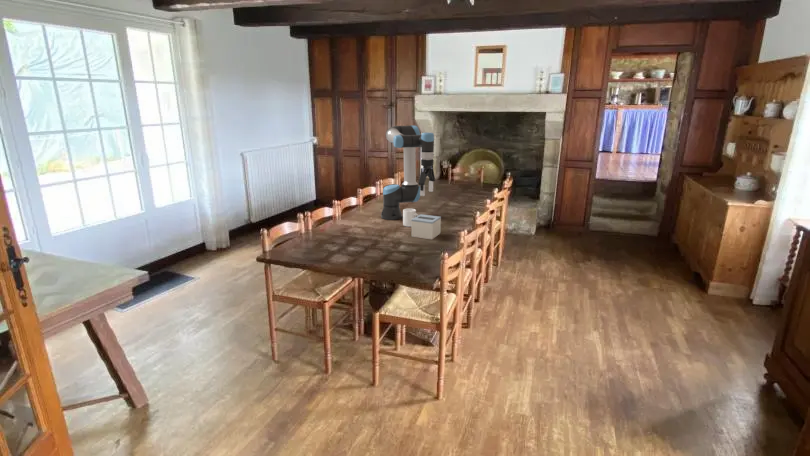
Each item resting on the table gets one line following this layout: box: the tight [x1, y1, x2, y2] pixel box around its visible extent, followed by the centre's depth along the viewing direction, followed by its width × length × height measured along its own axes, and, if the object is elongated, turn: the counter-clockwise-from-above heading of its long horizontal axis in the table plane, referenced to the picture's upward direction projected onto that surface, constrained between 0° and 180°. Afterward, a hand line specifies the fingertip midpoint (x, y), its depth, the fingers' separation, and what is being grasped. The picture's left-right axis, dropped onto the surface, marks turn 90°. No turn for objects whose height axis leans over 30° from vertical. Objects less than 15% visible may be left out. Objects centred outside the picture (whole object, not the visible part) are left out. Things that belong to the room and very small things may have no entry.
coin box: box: [410, 213, 442, 240], centre depth 271 cm, size 14×14×11 cm
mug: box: [402, 208, 419, 228], centre depth 291 cm, size 9×12×11 cm
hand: (426, 193), depth 265 cm, fingers open, 13 cm apart
